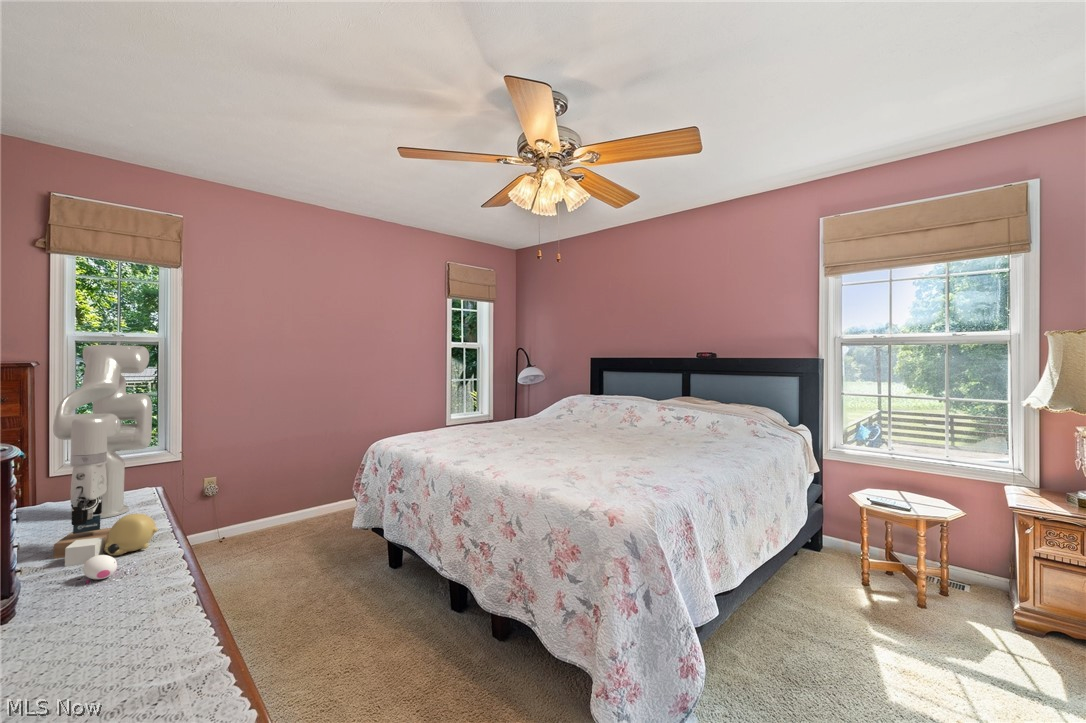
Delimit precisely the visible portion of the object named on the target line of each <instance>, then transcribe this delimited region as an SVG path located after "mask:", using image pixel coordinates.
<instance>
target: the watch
mask: <svg viewBox="0 0 1086 723" xmlns="http://www.w3.org/2000/svg"><path fill="white" fill-rule="evenodd" d="M79 499H86V498H79ZM100 502H101V500H99V498H98V497H97V498H96V499H94V500H90V499H89V501H88V504H87V507H86V509H88V520H87V523H86V524H79V525H72V532H73V534H77V533H83V532H89V531H94V530H100V529H101V518H100V515H98V516H93V512H95V510H96V507H97V506H98V503H100ZM81 503H82V505H83V503H84V502H81Z"/></svg>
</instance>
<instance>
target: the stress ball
mask: <svg viewBox="0 0 1086 723" xmlns="http://www.w3.org/2000/svg"><path fill="white" fill-rule="evenodd" d="M117 562H118V561H117V560H116V559H115V558H114V556H112V555H109V554H103V555H98V556H94V557H92V558H90V559H89V560H87V561H86V562H85V564H83V566H82V572H83V574H84V575H85V576H86V578H88V580H87V581H85V583H87V584H89V581H90V579H91V580H103V579H106V578H109V577H110V576H112V575H113V574H114V573H115V572H119V570H117V569H118V563H117Z"/></svg>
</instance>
